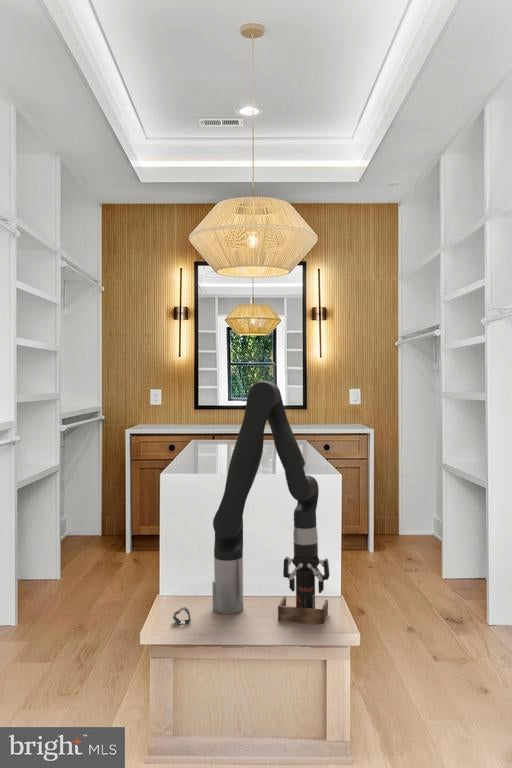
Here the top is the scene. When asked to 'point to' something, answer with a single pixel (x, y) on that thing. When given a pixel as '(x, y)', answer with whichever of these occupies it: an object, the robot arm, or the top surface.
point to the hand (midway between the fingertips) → (306, 591)
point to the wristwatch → (178, 613)
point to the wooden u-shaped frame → (302, 613)
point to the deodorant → (305, 589)
